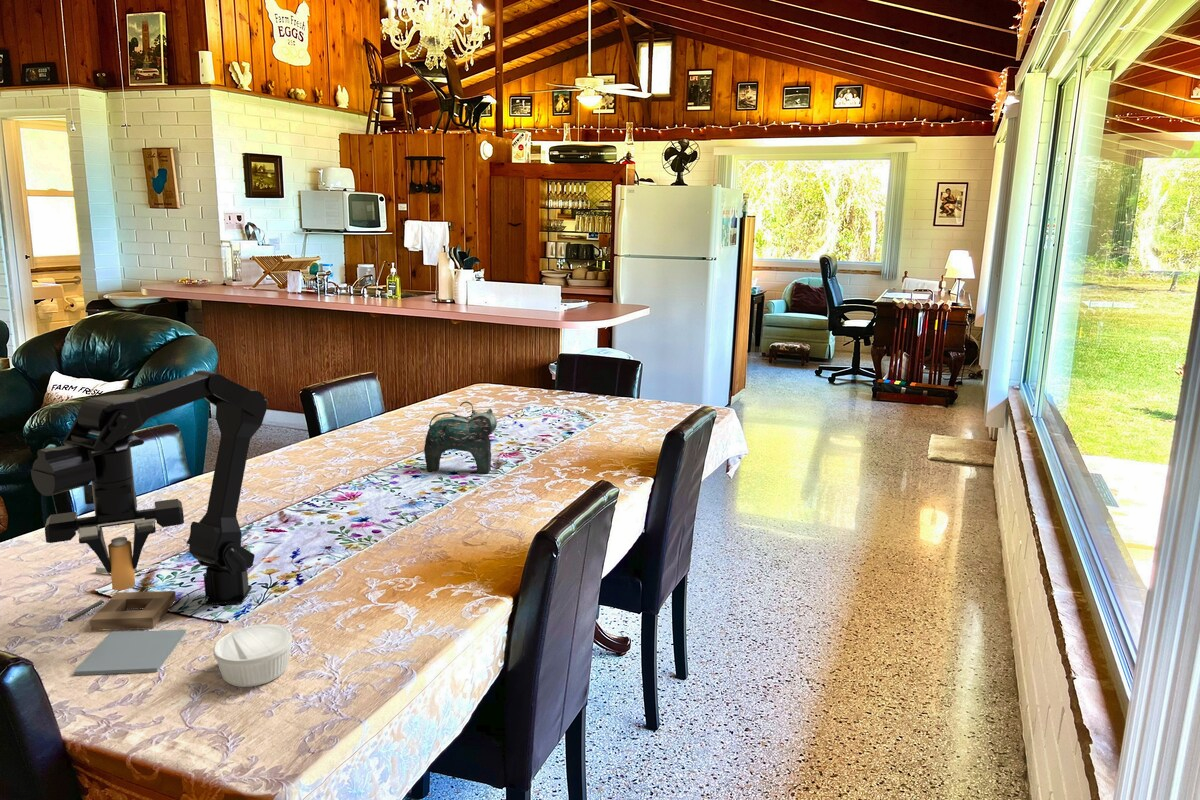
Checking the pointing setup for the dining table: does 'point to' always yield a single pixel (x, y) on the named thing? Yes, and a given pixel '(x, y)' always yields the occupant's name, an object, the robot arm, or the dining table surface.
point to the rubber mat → (131, 652)
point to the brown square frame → (119, 618)
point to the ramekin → (253, 654)
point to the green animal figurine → (461, 438)
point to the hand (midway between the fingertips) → (122, 569)
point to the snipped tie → (85, 610)
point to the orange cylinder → (121, 563)
